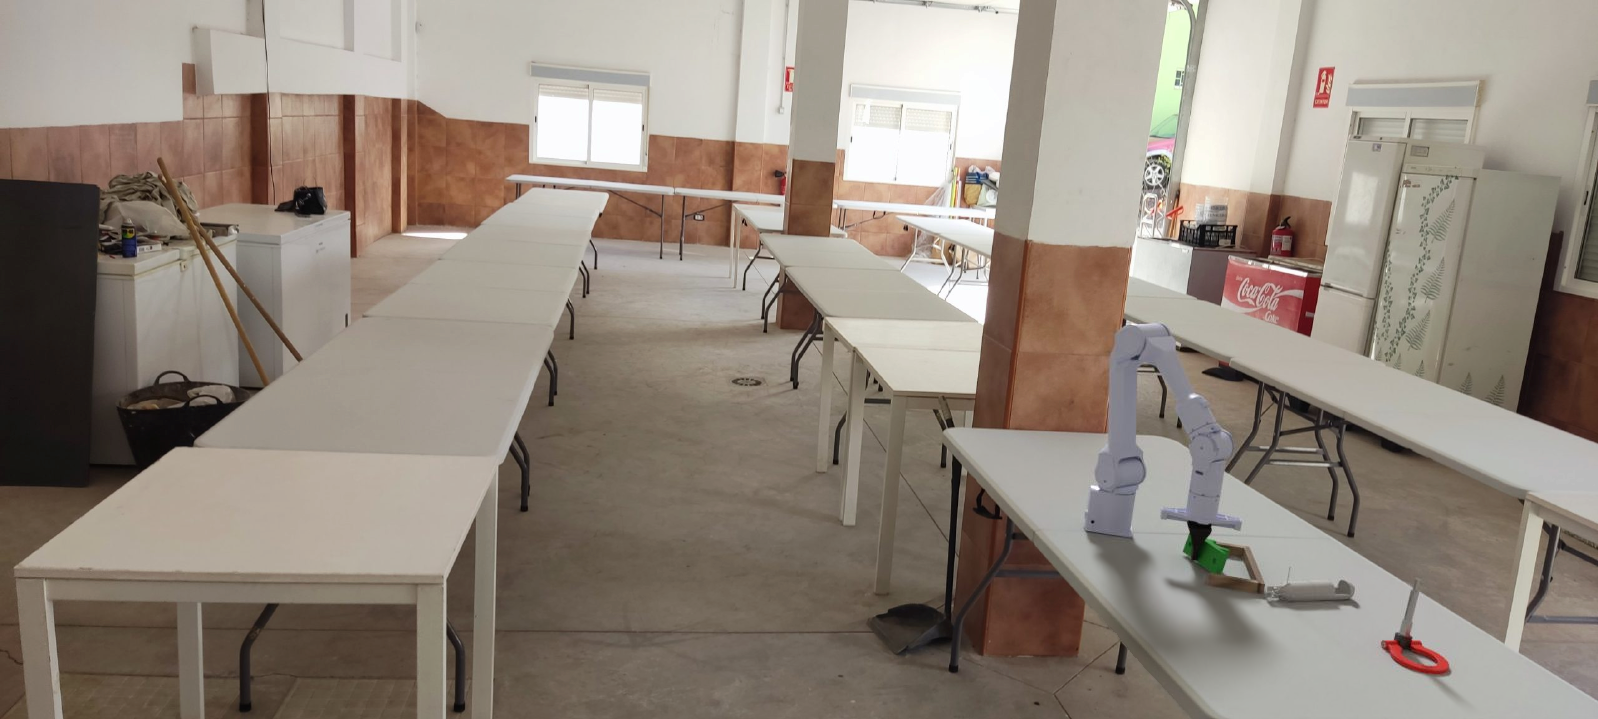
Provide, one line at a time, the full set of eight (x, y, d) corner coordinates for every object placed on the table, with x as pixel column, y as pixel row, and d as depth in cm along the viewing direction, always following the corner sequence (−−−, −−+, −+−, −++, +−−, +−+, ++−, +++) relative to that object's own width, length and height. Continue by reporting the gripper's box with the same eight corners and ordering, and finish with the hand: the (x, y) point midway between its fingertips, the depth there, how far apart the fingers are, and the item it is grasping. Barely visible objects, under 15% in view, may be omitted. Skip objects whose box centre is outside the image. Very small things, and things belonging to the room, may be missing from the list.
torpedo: (1340, 592, 199) (1347, 559, 198) (1358, 603, 195) (1365, 570, 193) (1256, 595, 195) (1262, 562, 194) (1273, 607, 191) (1279, 573, 189)
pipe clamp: (1231, 578, 202) (1239, 556, 201) (1214, 575, 201) (1222, 553, 200) (1198, 554, 212) (1206, 533, 211) (1182, 551, 211) (1190, 530, 210)
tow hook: (1459, 676, 170) (1420, 646, 179) (1479, 604, 167) (1438, 576, 176) (1412, 677, 169) (1374, 646, 178) (1430, 604, 166) (1391, 576, 174)
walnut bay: (1207, 585, 197) (1209, 575, 197) (1196, 548, 215) (1198, 538, 215) (1263, 594, 195) (1265, 584, 195) (1247, 555, 213) (1249, 546, 213)
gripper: (1166, 492, 201) (1156, 560, 204) (1248, 504, 198) (1236, 572, 201) (1163, 481, 208) (1154, 547, 211) (1242, 493, 205) (1231, 559, 207)
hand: (1194, 558), depth 206 cm, fingers closed, pressing on pipe clamp
